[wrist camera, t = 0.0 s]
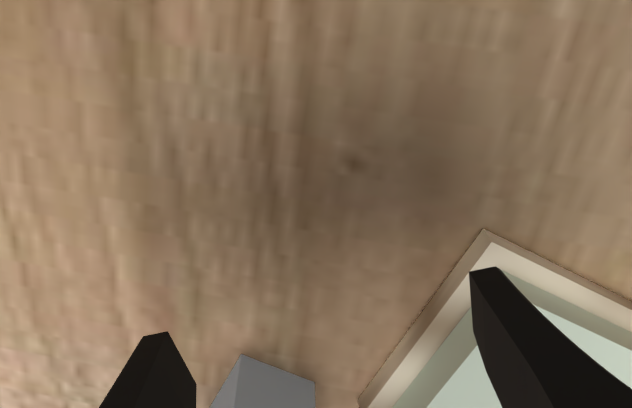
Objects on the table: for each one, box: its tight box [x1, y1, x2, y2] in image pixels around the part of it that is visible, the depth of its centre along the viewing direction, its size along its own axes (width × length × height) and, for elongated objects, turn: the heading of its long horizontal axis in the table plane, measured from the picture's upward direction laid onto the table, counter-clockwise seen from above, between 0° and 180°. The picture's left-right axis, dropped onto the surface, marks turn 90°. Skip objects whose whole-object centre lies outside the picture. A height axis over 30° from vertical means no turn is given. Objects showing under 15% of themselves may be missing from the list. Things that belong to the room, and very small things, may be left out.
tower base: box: [358, 229, 632, 408], centre depth 27 cm, size 11×11×2 cm
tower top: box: [392, 269, 632, 408], centre depth 26 cm, size 9×9×2 cm
